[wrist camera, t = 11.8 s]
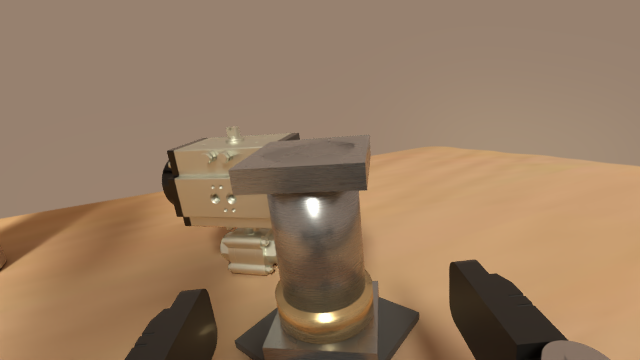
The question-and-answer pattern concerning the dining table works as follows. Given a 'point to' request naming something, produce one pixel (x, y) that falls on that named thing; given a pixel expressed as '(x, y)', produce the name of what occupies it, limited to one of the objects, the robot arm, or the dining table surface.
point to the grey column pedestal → (316, 246)
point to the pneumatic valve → (223, 197)
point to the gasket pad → (391, 331)
